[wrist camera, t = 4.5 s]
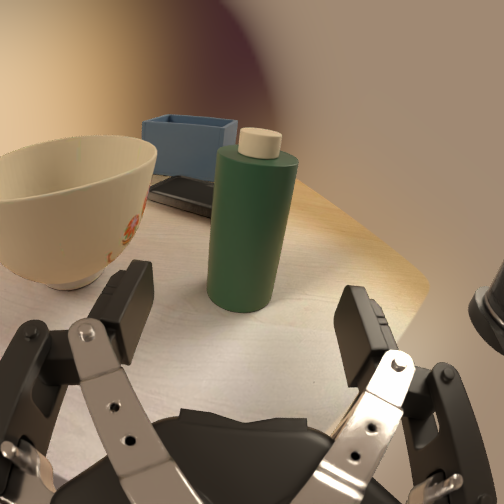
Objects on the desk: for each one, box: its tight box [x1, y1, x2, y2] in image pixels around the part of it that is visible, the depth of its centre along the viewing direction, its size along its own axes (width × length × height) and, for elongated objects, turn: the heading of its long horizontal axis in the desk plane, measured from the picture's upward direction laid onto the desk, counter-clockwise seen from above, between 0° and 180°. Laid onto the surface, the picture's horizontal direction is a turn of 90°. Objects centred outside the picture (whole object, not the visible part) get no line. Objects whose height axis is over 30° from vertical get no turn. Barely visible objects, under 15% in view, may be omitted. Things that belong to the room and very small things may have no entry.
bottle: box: [207, 128, 299, 313], centre depth 21 cm, size 5×5×12 cm
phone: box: [147, 175, 214, 218], centre depth 38 cm, size 8×1×15 cm
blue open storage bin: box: [142, 114, 238, 182], centre depth 48 cm, size 13×10×8 cm
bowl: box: [0, 135, 157, 290], centre depth 21 cm, size 16×16×10 cm
